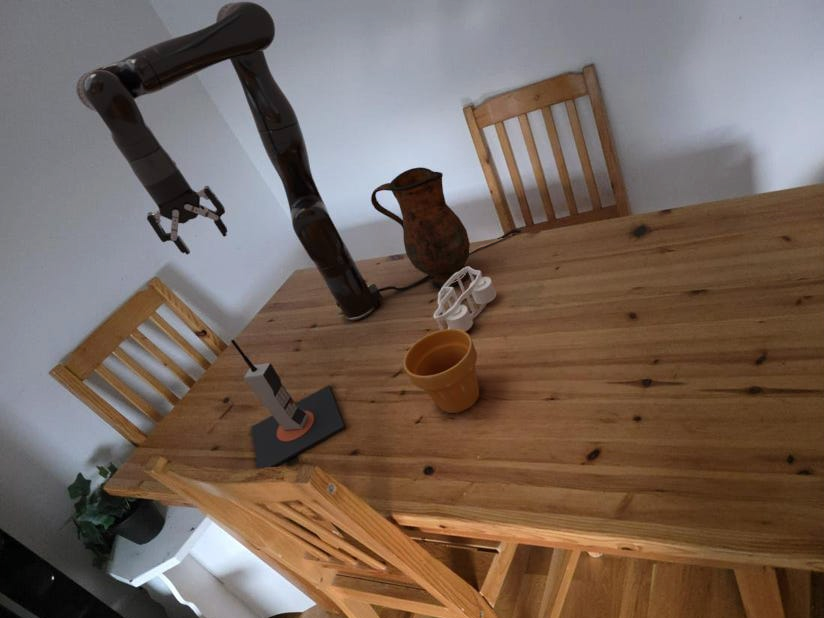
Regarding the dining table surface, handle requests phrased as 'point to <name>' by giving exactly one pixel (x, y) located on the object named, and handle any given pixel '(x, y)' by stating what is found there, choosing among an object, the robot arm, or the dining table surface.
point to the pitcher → (428, 225)
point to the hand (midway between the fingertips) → (207, 243)
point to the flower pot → (445, 369)
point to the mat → (297, 430)
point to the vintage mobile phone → (273, 394)
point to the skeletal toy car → (459, 313)
